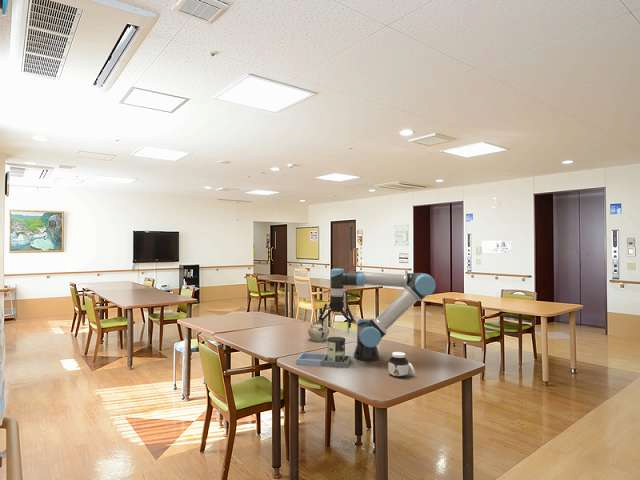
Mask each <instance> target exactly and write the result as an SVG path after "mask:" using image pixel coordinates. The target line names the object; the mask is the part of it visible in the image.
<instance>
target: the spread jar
mask: <svg viewBox="0 0 640 480" xmlns="http://www.w3.org/2000/svg"><path fill="white" fill-rule="evenodd" d="M387 367H388V368H387V369H388V373H389V375H390V376H391V377H393V378H394V379H395V378H396V379H403V378H406V377H407V376H408V375H409V376H411V377H413V376H415V375H416V370H415V368H414V366H413V364H412V363H411V362H410V361H409V360H408V359H407V357H406V353H405V352H401V351H394V352H391V357H390V358H389V359H388V366H387Z"/></svg>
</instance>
